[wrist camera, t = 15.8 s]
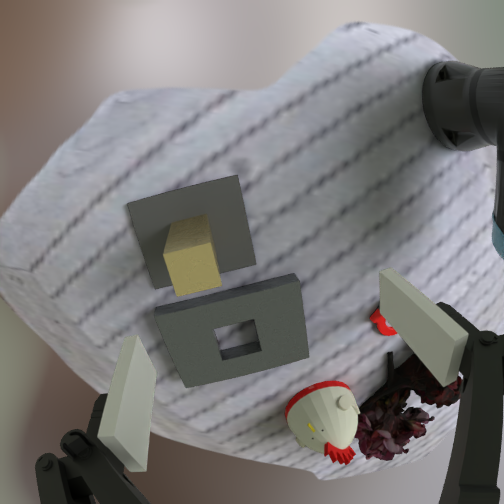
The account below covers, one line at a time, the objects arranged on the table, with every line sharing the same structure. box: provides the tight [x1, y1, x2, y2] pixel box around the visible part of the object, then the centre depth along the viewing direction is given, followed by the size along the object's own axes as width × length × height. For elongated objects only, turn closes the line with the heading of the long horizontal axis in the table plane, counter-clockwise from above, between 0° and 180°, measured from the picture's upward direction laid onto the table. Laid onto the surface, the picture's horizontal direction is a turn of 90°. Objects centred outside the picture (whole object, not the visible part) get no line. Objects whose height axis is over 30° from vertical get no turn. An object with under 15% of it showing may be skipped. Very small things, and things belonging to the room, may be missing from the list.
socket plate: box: [154, 273, 309, 388], centre depth 45 cm, size 20×14×2 cm
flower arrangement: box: [354, 351, 462, 461], centre depth 52 cm, size 31×20×15 cm, turn 153°
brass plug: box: [163, 214, 222, 297], centre depth 34 cm, size 4×4×11 cm
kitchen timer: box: [285, 381, 360, 465], centre depth 49 cm, size 14×14×15 cm
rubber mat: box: [128, 175, 256, 289], centre depth 39 cm, size 14×12×1 cm
